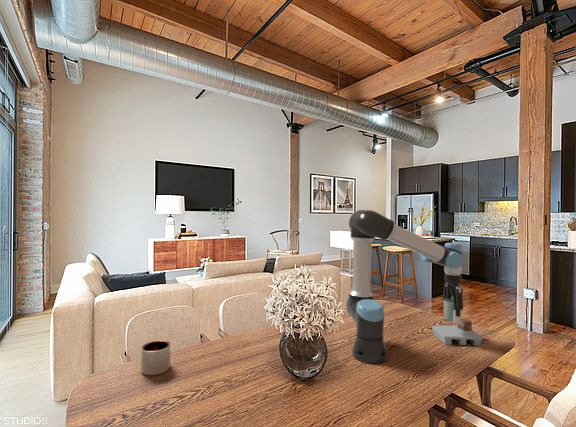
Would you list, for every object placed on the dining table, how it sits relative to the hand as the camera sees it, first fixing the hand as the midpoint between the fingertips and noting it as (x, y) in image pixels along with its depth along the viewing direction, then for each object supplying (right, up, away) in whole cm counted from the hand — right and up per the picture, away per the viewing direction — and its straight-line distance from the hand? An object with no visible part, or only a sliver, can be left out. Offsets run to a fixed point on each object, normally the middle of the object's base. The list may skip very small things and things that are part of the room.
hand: (452, 319), depth 155 cm
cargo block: (+9, -7, +5) cm, 12 cm away
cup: (0, -1, 0) cm, 1 cm away
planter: (-135, -10, -30) cm, 139 cm away
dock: (+3, -11, +2) cm, 11 cm away
